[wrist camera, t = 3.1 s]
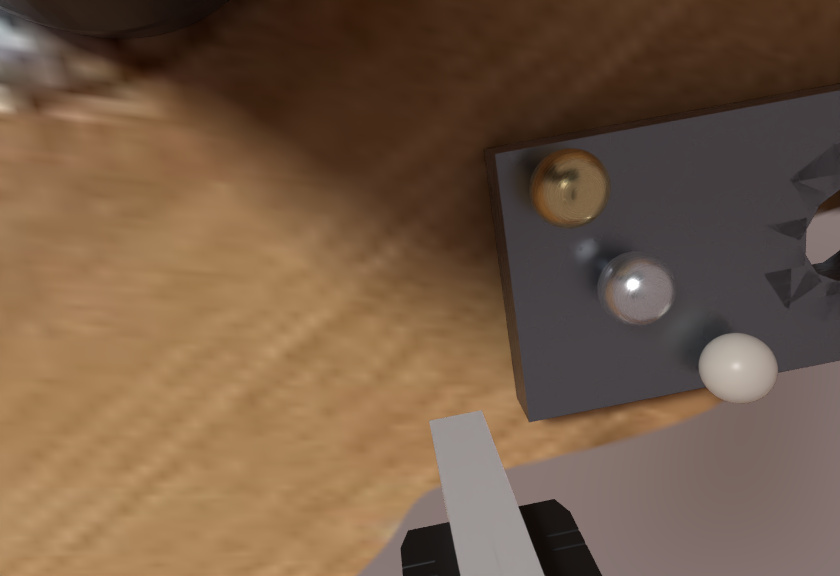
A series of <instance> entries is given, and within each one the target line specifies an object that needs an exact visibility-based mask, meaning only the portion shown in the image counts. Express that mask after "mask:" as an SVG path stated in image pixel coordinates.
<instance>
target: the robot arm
mask: <svg viewBox="0 0 840 576" xmlns="http://www.w3.org/2000/svg"><path fill="white" fill-rule="evenodd" d="M228 1H229V0H0V8H1V9H3V10H5V11H7V12H9V13H11V14H13V15H16V16H18V17H21V18H23V19H26V20H28V21H31V22H34V23H37V24H41V25H44V26H48V27H52V28H55V29H59V30H64V31H68V32H73V33H77V34H82V35H88V36H93V37H102V38H117V39H128V38H142V37H149V36H155V35H159V34H164V33H168V32H171V31H174V30H178V29H180V28H183V27H185V26H188V25H190V24H193V23H195V22H197V21H199V20H200V19H202V18H204V17H206V16H208V15H209V14H211V13H212V12H214V11H216V10H217V9H218V8H220V7H221V6H222V5H224V4H225V3H226V2H228ZM429 422H430V427H431V432H432V438H433V443H434V448H435V453H436V459H437V464H438V469H439V475H440V480H441V485H442V490H443V496H444V501H445V506H446V510H447V516H448V521H449V522H447V523H443V524H438V525H433V526H428V527H423V528H418V529H413V530H409V531H408V532H407V535H406V537H405V539H404V541H403V544H402V546H401V558H402V568H403V576H602V575H601V573H600V571H599V569H598V567H597V565H596V563H595V561H594V559H593V557H592V555H591V553H590V551H589V549H588V547H587V545H586V544H585V541H584V539H583V537H582V535H581V533H580V531H579V530H578V527H577V525H576V523H575V521H574V519H573V517H572V515H571V513H570V511H568V510H567V509H566V508H565V507H563V506H562V505H561V504H560V503H558V502H557V501H556V500H555V499H552V500H548V501H543V502H538V503H533V504H528V505H524V506H518V505H517V502H516V499H515V497H514V494H513V492H512V489H511V486H510V484H509V481H508V478H507V476H506V473H505V471H504V468H503V465H502V463H501V460H500V457H499V455H498V452H497V449H496V447H495V444H494V442H493V439H492V436H491V434H490V431H489V428H488V426H487V423H486V420H485V418H484V415H483V413H482V410H481V411H476V412H471V413H466V414H461V415H456V416H451V417H446V418H441V419H436V420H431V421H429Z"/></svg>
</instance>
